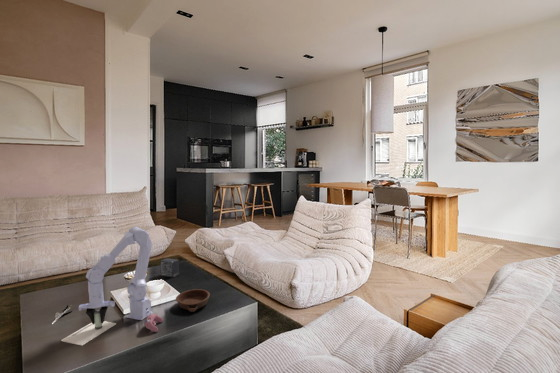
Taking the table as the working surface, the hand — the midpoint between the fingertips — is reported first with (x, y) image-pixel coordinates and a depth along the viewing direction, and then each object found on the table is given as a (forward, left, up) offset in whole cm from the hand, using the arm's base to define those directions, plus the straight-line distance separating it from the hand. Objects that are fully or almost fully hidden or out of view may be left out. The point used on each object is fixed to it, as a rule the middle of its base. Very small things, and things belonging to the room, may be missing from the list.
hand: (98, 322), depth 146 cm
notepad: (+1, +4, -3) cm, 5 cm away
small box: (+10, -65, -3) cm, 66 cm away
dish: (-29, -33, -3) cm, 44 cm away
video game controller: (-24, -8, -3) cm, 26 cm away
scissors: (+30, -5, -3) cm, 31 cm away
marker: (0, 0, -2) cm, 2 cm away
